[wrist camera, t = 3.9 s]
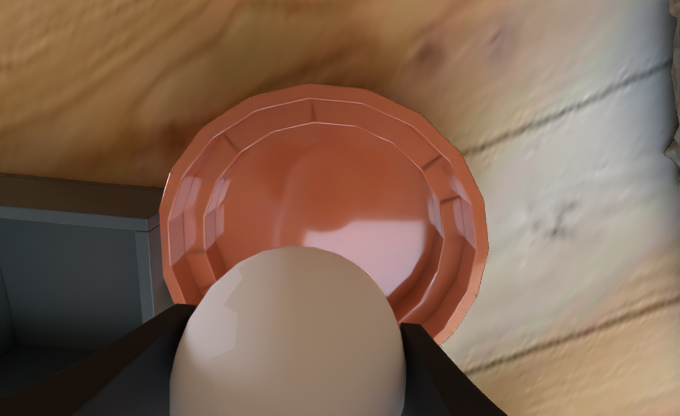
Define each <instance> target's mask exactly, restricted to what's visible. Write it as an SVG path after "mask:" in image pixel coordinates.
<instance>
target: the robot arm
mask: <svg viewBox="0 0 680 416" xmlns="http://www.w3.org/2000/svg"><path fill="white" fill-rule="evenodd" d="M195 310H196V305H191V304H179V303H176V304H175V305H173V306H171V307H169V308H168V309H166V310H164V311H163V312H161V313H160V314H158V315H156V316H155V317H153V318H152V319H150V320H148V321H147V322H145V323H144V324H142V325H141V326H139V327H137V328H136V329H134V330H132V331H131V332H129V333H128V334H126V335H124V336H123V337H121V338H120V339H118V340H116V341H115V342H113V343H111V344H109V345H107V346H106V347H104V348H102V349H100V350H99V351H97V352H95V353H93V354H92V355H90V356H88V357H86V358H85V359H83V360H81V361H79V362H78V363H76V364H74V365H72V366H70V367H68V368H66V369H64V370H62V371H60V372H58V373H56V374H54V375H52V376H50V377H48V378H46V379H44V380H42V381H40V382H38V383H36V384H33V385H31V386H29V387H27V388H25V389H23V390H20V391H18V392H15V393H13V394H11V395H8V396H6V397H4V398H1V399H0V416H170V377H171V372H172V368H173V363H174V358H175V355H176V351H177V348H178V345H179V342H180V340H181V337H182V335H183V333H184V330H185V328H186V326H187V323H188V321H189V319H190V317H191V316H192V314H193V313H194V311H195ZM400 332H401V335H402V341H403V347H404V354H405V360H406V389H405V398H404V407H403V410H402V413H401V416H508V415H507V414H505V413H504V412H503V411H502V410H501V409H500V408H498V407H497V406H496V405H495V404H494V403H493V402H492V401H491V400H490V399H489V398H488V397H487V396H486V395H485V394H483V393H482V392H481V391H480V390H479V389H478V388H477V387H476V386H475V385H474V384H473V383H472V382H471V381H470V380H469V379H468V378H467V376H466V375H465V374H464V373H463V372H462V371H461V370H460V369H459V368H458V367H457V366H456V365H455V364H454V363H453V361H452V360H451V359H450V358H449V357H448V356H447V355H446V354H445V352H444V351H443V350H442V349H441V348H440V347H439V345H438V344H437V343H436V342H435V341H434V340H433V338H432V337H431V336H430V335H429V334H428V332H427V331H426V330H425V329H424V328H423V327H422V326H421V324H415V323H403V322H401V325H400Z"/></svg>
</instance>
